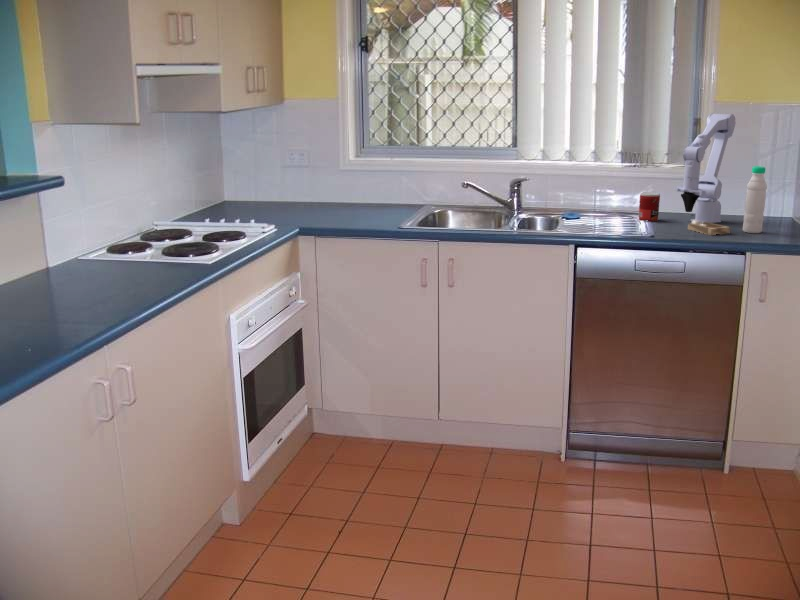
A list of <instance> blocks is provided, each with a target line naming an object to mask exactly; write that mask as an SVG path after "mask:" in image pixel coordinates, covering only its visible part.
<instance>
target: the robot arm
mask: <svg viewBox="0 0 800 600" xmlns="http://www.w3.org/2000/svg"><path fill="white" fill-rule="evenodd" d="M736 125H737V124H736V115H734V114H733V113H730V114H729V113H728V114H727V113H713V112H711V113H709V115H708V116H707V118H706V126H705V128H704V131H702V133H699V134H698V135H697V136H696V137H695V139H694V140H693V141H692V142H691V144H690V145H688V146H687V147H685V148H684V150H683V153H682V159H683V165H684V170H683V171H684V173H683V186H682V185H681V186H680V185H679V186H675V191H676V193H677V192H678V193H680V192H681V194H680V197H681V199H682V201H683V204H684V205H683V206H684V210H685V213H692V212H693V209H694V207H695V206H696V207H695V218H693V219H690V221H691V222H692V221H693V220H698V221H702V222H709V223H714V224H718V223H721V222H722V221H721V214H722V213H721V211H722V203H721V201H720V200H719V199H720V197H721V196H722V187H723V183H722V182H721V180H720V179H719V178H718V175H719V172H720V168H721V165H722V161H723V158H724V155H725V151H726V147H727V143H728V141H729V140H728V139H729V138H732V136H733V133H734V132H735V128H736ZM712 138H714V141H713V144H712V147H711V152H710V153H709V154H710V155H709V158H708V161H707V165H706V168H705V171H704V175H702V176H700V173H701V162H702V161H703V160H704V157H705V154H706V150H707V148H708V147H709V146H710V144H711V142H712V141H711V139H712ZM695 204H696V205H695Z"/></svg>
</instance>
